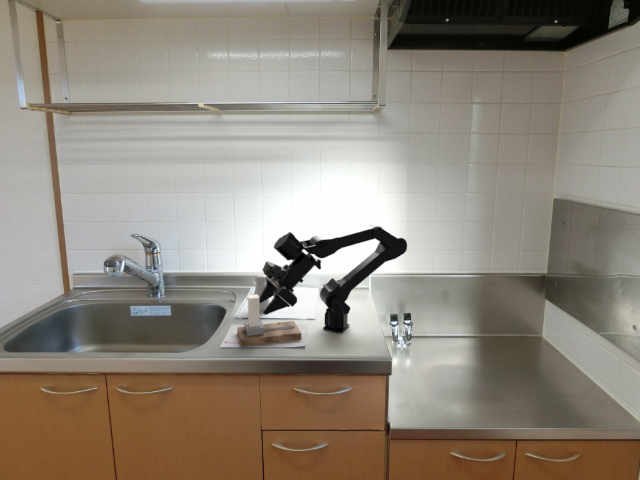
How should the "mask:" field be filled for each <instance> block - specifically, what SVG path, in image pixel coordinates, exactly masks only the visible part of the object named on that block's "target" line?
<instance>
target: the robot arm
mask: <svg viewBox="0 0 640 480" xmlns="http://www.w3.org/2000/svg"><path fill="white" fill-rule="evenodd" d="M371 240H377V241H378V245H377V247H376V248H375V250H374V251H373V252H372V253H371V254H370V255H368V256H367V257H366V258H365V259H364V260H363V261H362V262H360V263H359V264H358V265H356V266H355V267H354V268H353V269H352V270H351V271H349V272H348V273H347V274H346V275H345V276H343V277H342V278H341V279H338V280H336V279H335V278H333V277H332V278H331V279H329V281H328V282H326V283H325V284H322V288H321V289H320V291H319V297H320V298H319V299H320V300H321V302H323V303H324V304H325V306H326V309H325V312H324V326H323V328H322V329H323V330H326V331H330V332H335V333H339V334H342V333H344V332H345V331H346V330H348V328H349V327H350V323H348V318H349V317H348V316H349V313H350V311H351V306H350V305H349V304H347V303H346V302H347V300H348V298H349V296H350V294H351V293H352V291H353V290H354V289H355V288H357V287H358V285H360V284H361V283H363V281H365V280H366V279H367V278H368V277H369V276H370V275H372V274H374V272H375V271H376V270H378V269H379V268H380V267H381V266H382V265H383V264H385V263H386V262H390V261H392V260H393V261H394V260H396V259H398V258H399V257H400V256H402V255H404V254H405V253H407V251H408V250H407V249H408V243H407V241H406V239H405V238H403V237H401V236H399V235H397V234H395V233H389V232H388V231H387V230H385V229H384V228H383V227H382V226H380V225H378V224H375V223H371V224H369V225H367V226H364V227H359V228H356V229H352V230H349V231H344V232H341V233H337V234H320V235H319V234H318V235H314V236H311V238H310V239H305V240H298V238H296V236H295V234H293V233H292V232H291V231H289V232H287V233H286V234H284V235H282V236H281V237H279V238H278V239H277V240H276V242H275V243H274V245H273V249H274V250H276V252H278V254H280V255H281V256H282V257H283V258H284V259H285V260H286V261H290V260H291V261H292V262H290V263H289V264H284V265H283V266H281V265H278V264H276V263H273V262H270V261H269V260H266V261H265V263H264V266H263V268H262V270H261V271H262V272H263V274H265V275H266V276H267V278H265V279H266V282H265V284H266V286H265V288H264V290H263V292H262V294H261V296H260V297H259V303H262V302H264V301H265V300H267V299H269V300H270V299H271V298H272V297H273V298H272V299H271V300H270V301H269V302H270V303H269V305H268V306H267V307H266V309H265V310H264V312H263V314H264V315H265V316H266V315H270V314H271V313H274V312H277V311H279V310H283V309H285V308H290V307H292V308H293V307H294V306H295V305H296V304H297V302H298V297H297V296H296V294H295V293H294V292H295V290H294V288H295V287H296V286H297V285H298V284H299V283H301V284H302V283H303V282H304V279H303V278H305V277H306V275H307V274H308V273H309V272H311V270H312V269H313V268H314V267H316V268H317V269H318V270H322V264H321V263H322V260H321V259H326V258H328V257H329V256H332V255H334V254H336V253H337V252H338V251H339V250H341V249H344V248H347V247H350V246H354V245H357V244H361V243H365V242H368V241H369V242H370V241H371ZM304 251H305V252H307V253H305V252H304ZM315 257H316V258H315Z"/></svg>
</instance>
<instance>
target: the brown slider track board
mask: <svg viewBox="0 0 640 480" xmlns="http://www.w3.org/2000/svg"><path fill="white" fill-rule="evenodd" d="M262 324H263V326H264V334H261V335H253V336H247V334H246V331H245V328H244V326H240V327H239V326H238V327H236V330H237V331H236V332H237V336H238V340H239V343H240V346H241V347H247V346H256V345H264V344H272V343H281V342H286V341H288V342H289V341H295V340H302V332H301V330H300V328H299V327H298V325H297V323H296V322H295V320H289V321H281V322H280V321H278V322H272V323H271V322H270V323H262Z"/></svg>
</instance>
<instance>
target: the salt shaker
mask: <svg viewBox="0 0 640 480" xmlns="http://www.w3.org/2000/svg"><path fill="white" fill-rule="evenodd" d="M265 278H268V277H267V276H266V275H265V274H264V273H258V274H256V275H255V276H254V282H255V291H254V294H253V295H256V294H258V296H259V297H260V296H261V294H262V292H263V290H264V288H265V286H266V279H265ZM270 302H271V301H270V298H269V299H267V300H265V301H264V302H262V303H260V313H261V312H264V310H265V309H266V307H267V306H268V305H269V303H270Z"/></svg>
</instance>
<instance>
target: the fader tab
mask: <svg viewBox="0 0 640 480" xmlns="http://www.w3.org/2000/svg"><path fill="white" fill-rule="evenodd" d="M260 313H261V312H260V303H259V296H258V294H256V295H254V294H247V319H248V320H247V321H244V322H243V324H244V325H243V327H244V328H245V331H246V334H247V336H253V335H261V334H264V326H263V324H264V323H263V321H262V320H261V319H260V318H261V317H260V316H261V314H260Z"/></svg>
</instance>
